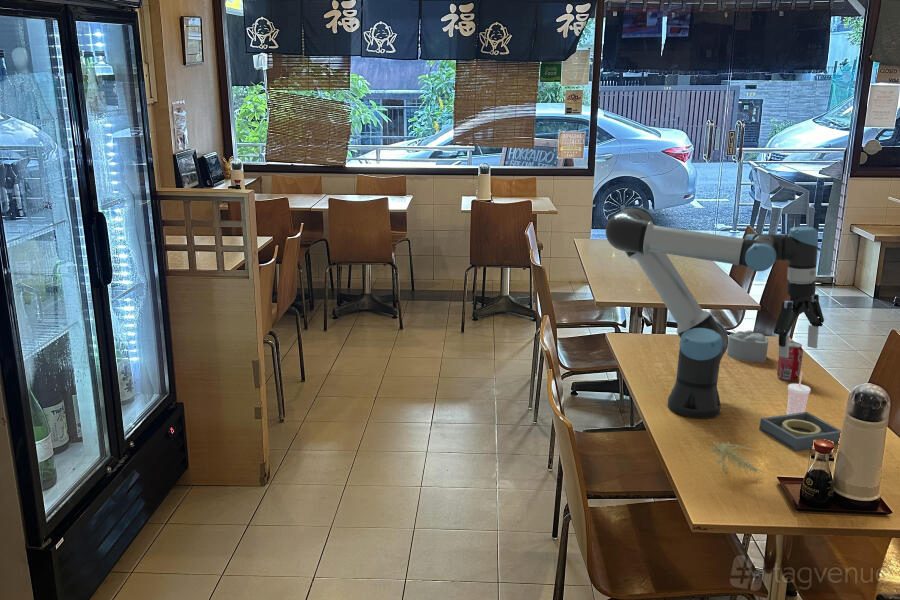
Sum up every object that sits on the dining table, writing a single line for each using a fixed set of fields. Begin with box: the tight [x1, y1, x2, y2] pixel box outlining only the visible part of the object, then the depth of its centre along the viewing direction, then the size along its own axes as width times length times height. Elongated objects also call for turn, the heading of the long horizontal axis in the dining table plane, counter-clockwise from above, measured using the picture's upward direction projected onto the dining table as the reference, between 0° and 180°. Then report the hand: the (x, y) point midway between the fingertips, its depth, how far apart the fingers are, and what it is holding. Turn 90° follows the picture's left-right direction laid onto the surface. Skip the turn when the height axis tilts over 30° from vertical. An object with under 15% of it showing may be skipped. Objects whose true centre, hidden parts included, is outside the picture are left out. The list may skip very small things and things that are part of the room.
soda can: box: [776, 340, 804, 382], centre depth 267 cm, size 7×7×12 cm
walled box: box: [758, 411, 841, 452], centre depth 224 cm, size 16×14×4 cm
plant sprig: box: [710, 440, 764, 480], centre depth 201 cm, size 11×15×9 cm
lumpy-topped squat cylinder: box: [726, 329, 769, 363], centre depth 287 cm, size 10×13×9 cm
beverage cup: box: [786, 370, 811, 415], centre depth 236 cm, size 6×6×14 cm
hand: (798, 352), depth 238 cm, fingers open, 13 cm apart
